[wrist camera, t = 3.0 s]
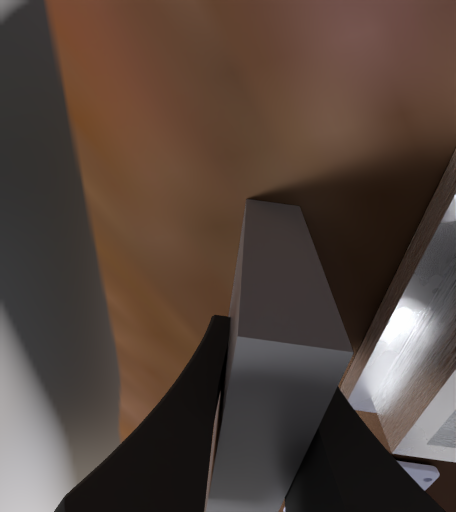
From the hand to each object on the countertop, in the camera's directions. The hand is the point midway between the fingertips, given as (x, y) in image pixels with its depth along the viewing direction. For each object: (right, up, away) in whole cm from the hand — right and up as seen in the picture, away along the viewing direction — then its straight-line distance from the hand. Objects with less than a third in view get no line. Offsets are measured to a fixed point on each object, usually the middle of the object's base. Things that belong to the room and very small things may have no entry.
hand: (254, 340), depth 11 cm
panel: (0, +1, +2) cm, 3 cm away
